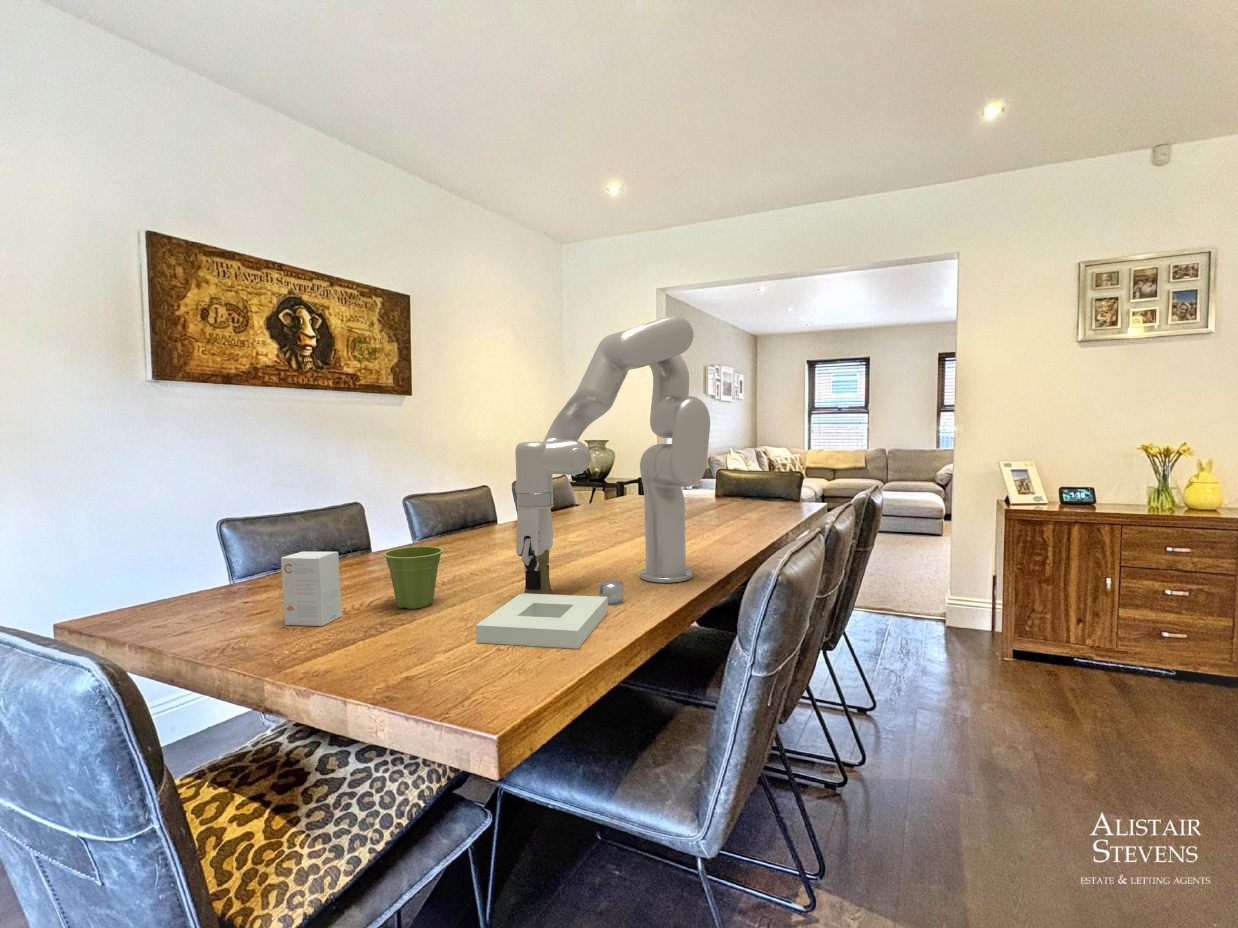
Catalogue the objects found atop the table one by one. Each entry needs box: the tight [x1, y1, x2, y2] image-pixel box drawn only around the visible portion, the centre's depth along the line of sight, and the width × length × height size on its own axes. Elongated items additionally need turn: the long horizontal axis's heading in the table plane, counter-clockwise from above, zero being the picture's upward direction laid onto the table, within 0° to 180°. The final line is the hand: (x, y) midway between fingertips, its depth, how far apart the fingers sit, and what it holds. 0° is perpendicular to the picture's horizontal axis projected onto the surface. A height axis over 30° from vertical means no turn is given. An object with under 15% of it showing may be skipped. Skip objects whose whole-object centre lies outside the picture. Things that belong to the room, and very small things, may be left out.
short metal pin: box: [598, 579, 625, 606], centre depth 127 cm, size 5×5×4 cm
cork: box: [524, 549, 553, 595], centre depth 130 cm, size 6×6×11 cm
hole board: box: [475, 592, 609, 650], centre depth 112 cm, size 20×18×3 cm
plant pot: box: [382, 545, 444, 610], centre depth 128 cm, size 12×12×11 cm
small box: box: [280, 551, 343, 627], centre depth 118 cm, size 8×6×13 cm
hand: (537, 585), depth 130 cm, fingers open, 4 cm apart
